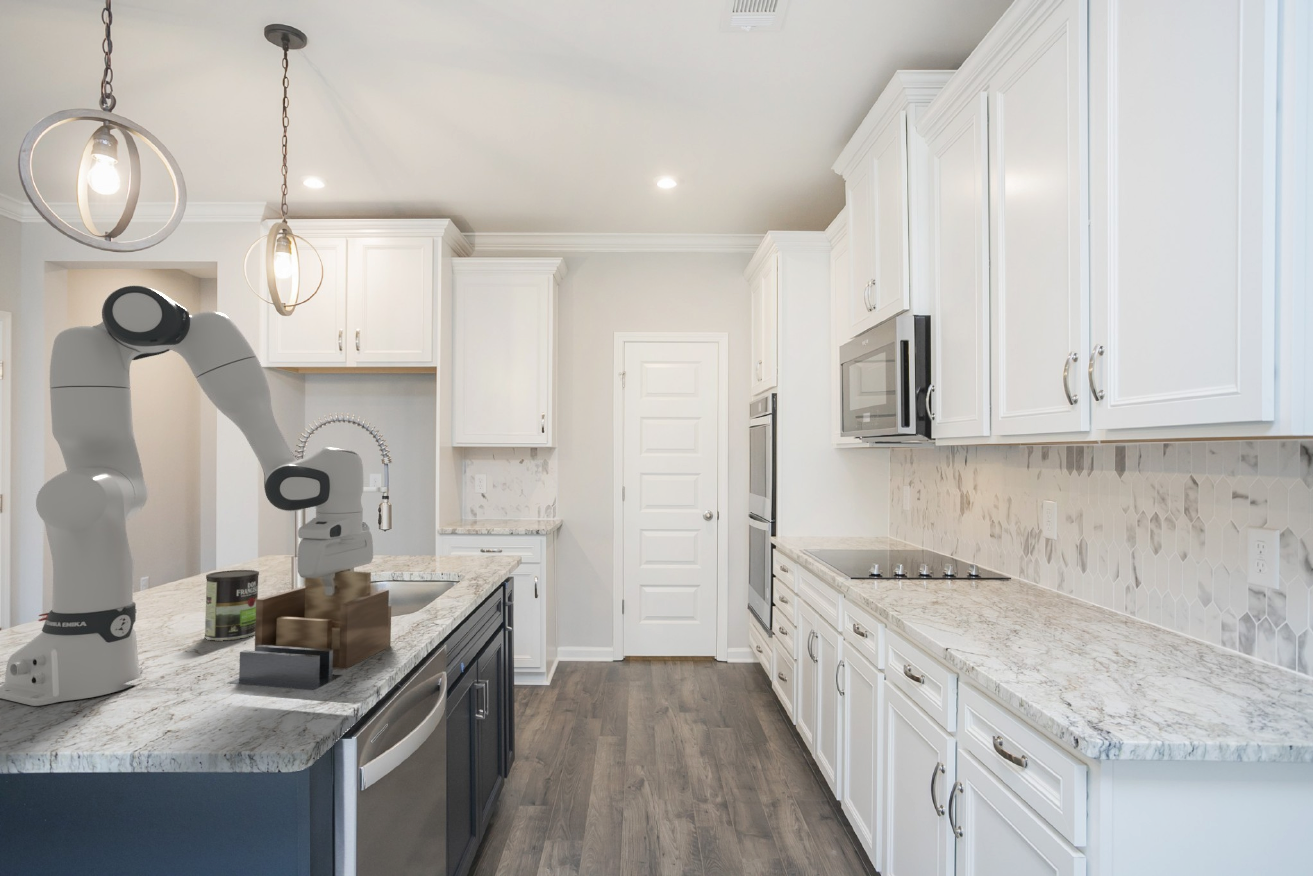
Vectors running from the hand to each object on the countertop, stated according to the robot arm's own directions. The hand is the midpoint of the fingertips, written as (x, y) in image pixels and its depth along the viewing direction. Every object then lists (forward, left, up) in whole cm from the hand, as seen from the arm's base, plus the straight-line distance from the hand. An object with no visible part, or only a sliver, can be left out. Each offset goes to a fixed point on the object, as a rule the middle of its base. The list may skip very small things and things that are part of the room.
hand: (337, 592), depth 140 cm
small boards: (0, -6, -12) cm, 13 cm away
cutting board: (0, 0, -12) cm, 12 cm away
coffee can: (-33, +10, -13) cm, 37 cm away
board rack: (0, -3, -13) cm, 14 cm away
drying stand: (+3, -18, -13) cm, 23 cm away
